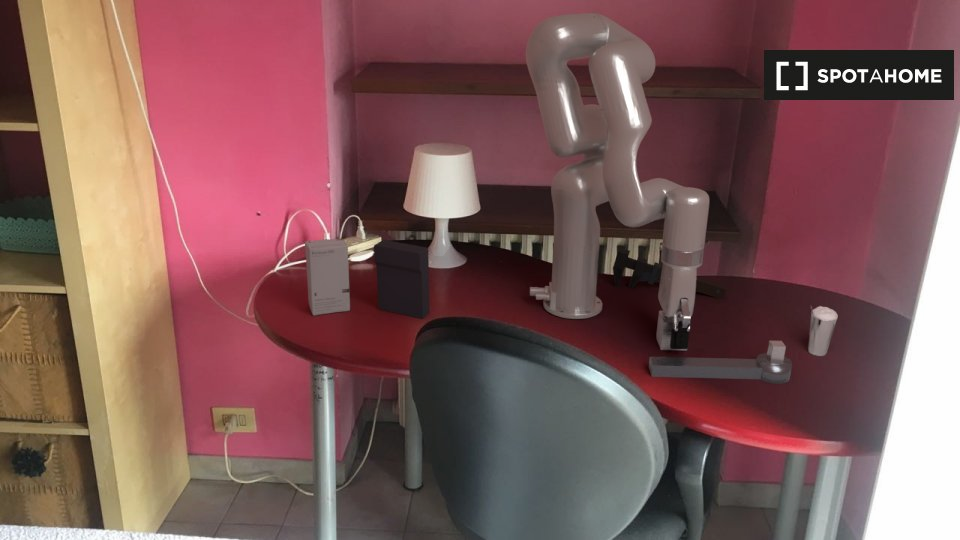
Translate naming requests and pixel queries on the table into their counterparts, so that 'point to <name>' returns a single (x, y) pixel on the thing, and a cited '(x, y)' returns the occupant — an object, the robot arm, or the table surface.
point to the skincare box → (327, 276)
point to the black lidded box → (402, 278)
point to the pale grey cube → (665, 330)
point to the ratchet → (727, 366)
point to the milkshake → (821, 330)
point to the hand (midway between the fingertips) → (673, 336)
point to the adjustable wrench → (656, 274)
